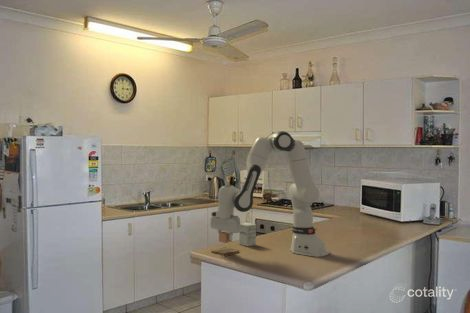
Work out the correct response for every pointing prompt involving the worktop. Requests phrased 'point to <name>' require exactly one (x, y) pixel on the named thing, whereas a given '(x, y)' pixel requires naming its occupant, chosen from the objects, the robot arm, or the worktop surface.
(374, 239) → the worktop surface
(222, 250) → the walnut board
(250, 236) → the supplement box
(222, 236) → the terracotta cube
